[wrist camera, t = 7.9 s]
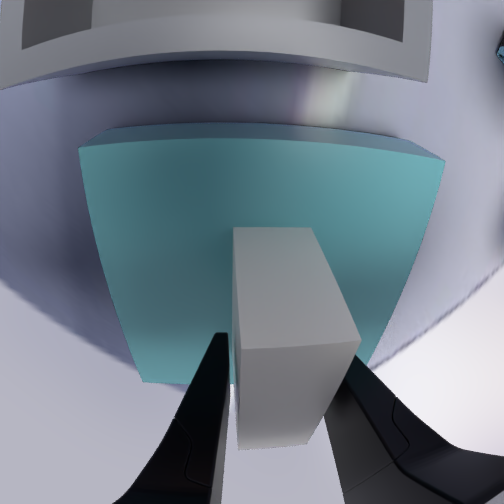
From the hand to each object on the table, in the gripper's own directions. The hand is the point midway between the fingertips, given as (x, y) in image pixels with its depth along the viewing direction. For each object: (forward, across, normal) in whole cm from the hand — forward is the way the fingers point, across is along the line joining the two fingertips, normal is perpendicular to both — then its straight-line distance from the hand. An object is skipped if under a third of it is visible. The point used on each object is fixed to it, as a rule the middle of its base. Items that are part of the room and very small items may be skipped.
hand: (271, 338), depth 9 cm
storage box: (+5, +2, -13) cm, 14 cm away
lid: (+4, 0, 0) cm, 4 cm away
